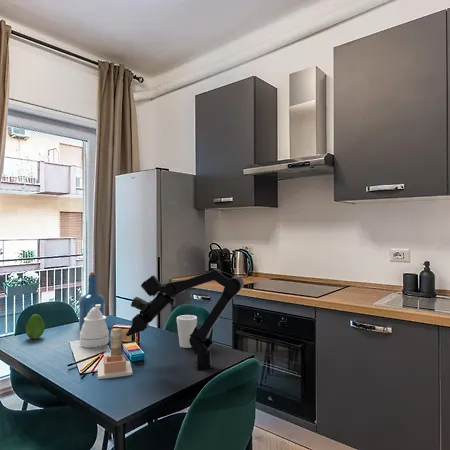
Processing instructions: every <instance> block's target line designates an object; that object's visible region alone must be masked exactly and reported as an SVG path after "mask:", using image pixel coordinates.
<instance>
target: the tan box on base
mask: <svg viewBox="0 0 450 450" xmlns="http://www.w3.org/2000/svg"><path fill="white" fill-rule="evenodd" d="M127 376H133V368H132V366H131V362H130V360H126V357H125V354H121V355H115V356H111V355H108V356H107V355H106V356H103V363H99V364H97V380H105V379H110V378H118V377H127Z"/></svg>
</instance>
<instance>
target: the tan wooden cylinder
mask: <svg viewBox="0 0 450 450" xmlns="http://www.w3.org/2000/svg"><path fill="white" fill-rule="evenodd" d="M115 355H122V329H121V328H112V329H110V356H115Z"/></svg>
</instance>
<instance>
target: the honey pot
mask: <svg viewBox="0 0 450 450" xmlns="http://www.w3.org/2000/svg"><path fill="white" fill-rule="evenodd" d="M100 307H101V305H100V304H97V305H95V307H93V308H92V309H91V310H90V311H89V313H88V314H87V316H86V317H85V318H84V324H83V326H82V329H81V330H80V332H79V346H80V345H82V346H89V347H88V348H98V347H97V346H99V347H102V345H103V346H105V344H106V345H107V344H108V343H109V335H110V334H109V333H110V331H109V329H108V326H107V323H106V320H107V316H106V315H105V316H103V315H102V313H101V311H100V310H99V309H100ZM82 346H81V347H82Z"/></svg>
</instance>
